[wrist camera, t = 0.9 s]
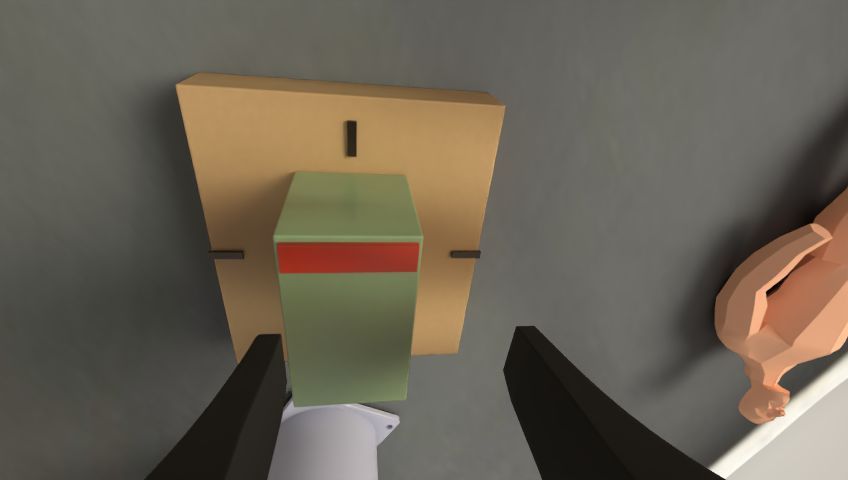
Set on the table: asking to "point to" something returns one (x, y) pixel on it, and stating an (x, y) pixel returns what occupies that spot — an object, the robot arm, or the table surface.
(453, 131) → the tan flat block
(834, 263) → the male figurine
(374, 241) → the box
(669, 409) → the table surface
